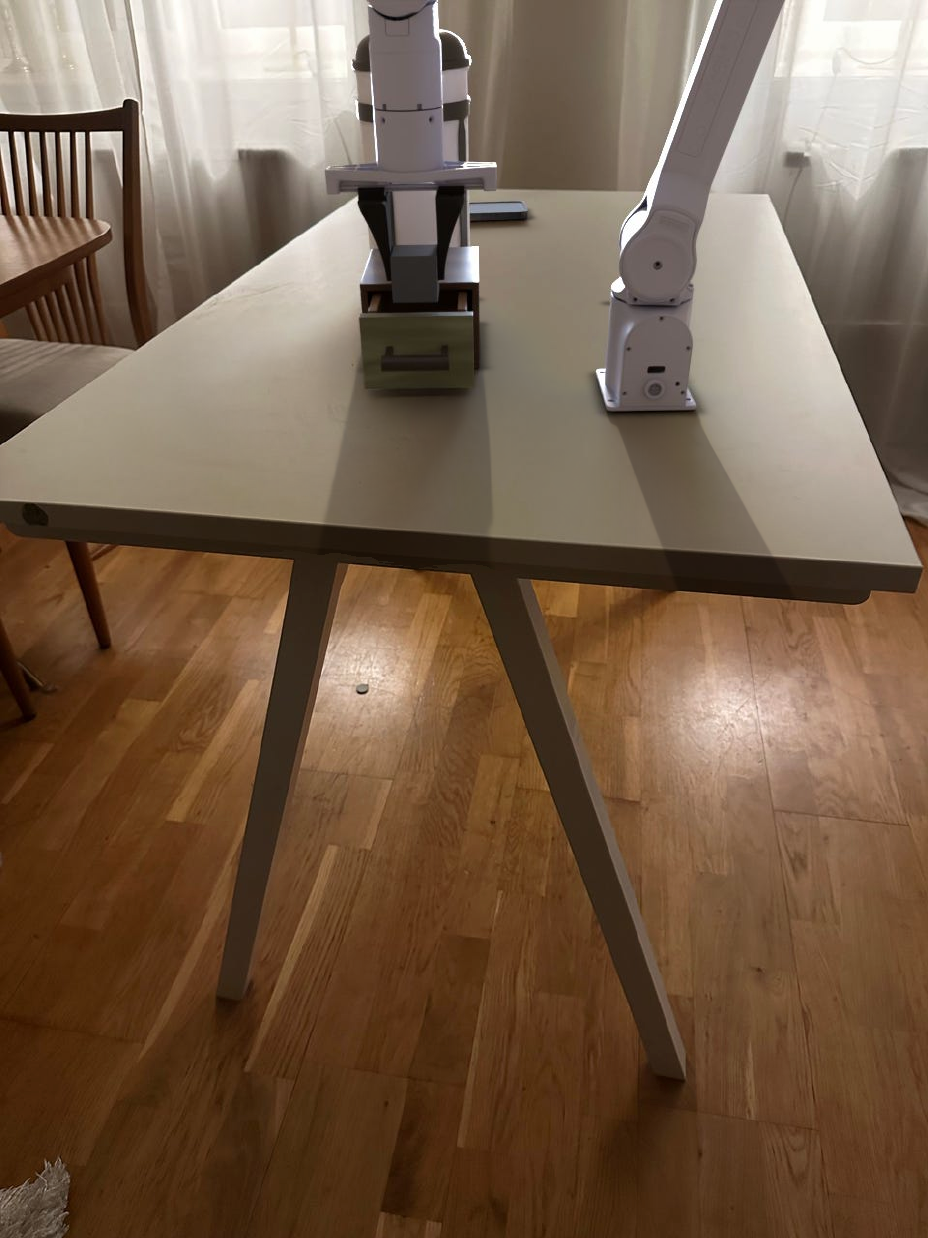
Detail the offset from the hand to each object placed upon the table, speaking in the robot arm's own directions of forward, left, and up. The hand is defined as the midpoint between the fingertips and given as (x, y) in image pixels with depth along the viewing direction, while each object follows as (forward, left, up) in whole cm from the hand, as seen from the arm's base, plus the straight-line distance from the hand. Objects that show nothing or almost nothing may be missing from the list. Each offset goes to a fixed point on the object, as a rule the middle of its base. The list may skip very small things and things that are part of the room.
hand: (416, 277), depth 82 cm
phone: (+71, -6, -10) cm, 72 cm away
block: (-1, 0, -1) cm, 2 cm away
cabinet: (+10, 0, -10) cm, 14 cm away
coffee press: (+30, +2, -10) cm, 32 cm away
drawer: (0, 0, -9) cm, 9 cm away
